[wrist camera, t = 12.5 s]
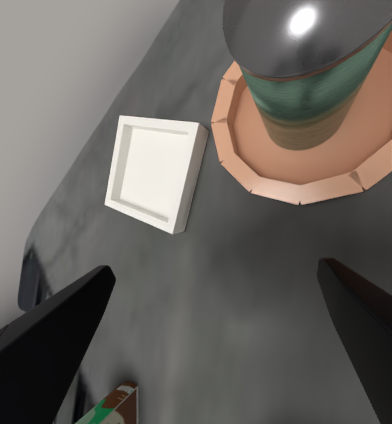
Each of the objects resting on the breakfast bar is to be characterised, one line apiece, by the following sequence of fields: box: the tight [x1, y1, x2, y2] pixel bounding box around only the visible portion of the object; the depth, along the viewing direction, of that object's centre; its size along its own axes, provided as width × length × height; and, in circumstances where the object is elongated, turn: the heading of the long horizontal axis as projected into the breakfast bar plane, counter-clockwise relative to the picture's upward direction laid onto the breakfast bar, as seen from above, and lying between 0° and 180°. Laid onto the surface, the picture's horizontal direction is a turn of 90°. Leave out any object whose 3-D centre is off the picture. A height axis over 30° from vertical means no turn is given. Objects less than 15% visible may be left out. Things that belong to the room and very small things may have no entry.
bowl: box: [211, 31, 392, 205], centre depth 16 cm, size 15×15×3 cm
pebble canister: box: [223, 0, 392, 151], centre depth 11 cm, size 6×6×11 cm
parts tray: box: [105, 116, 209, 234], centre depth 24 cm, size 12×12×2 cm
